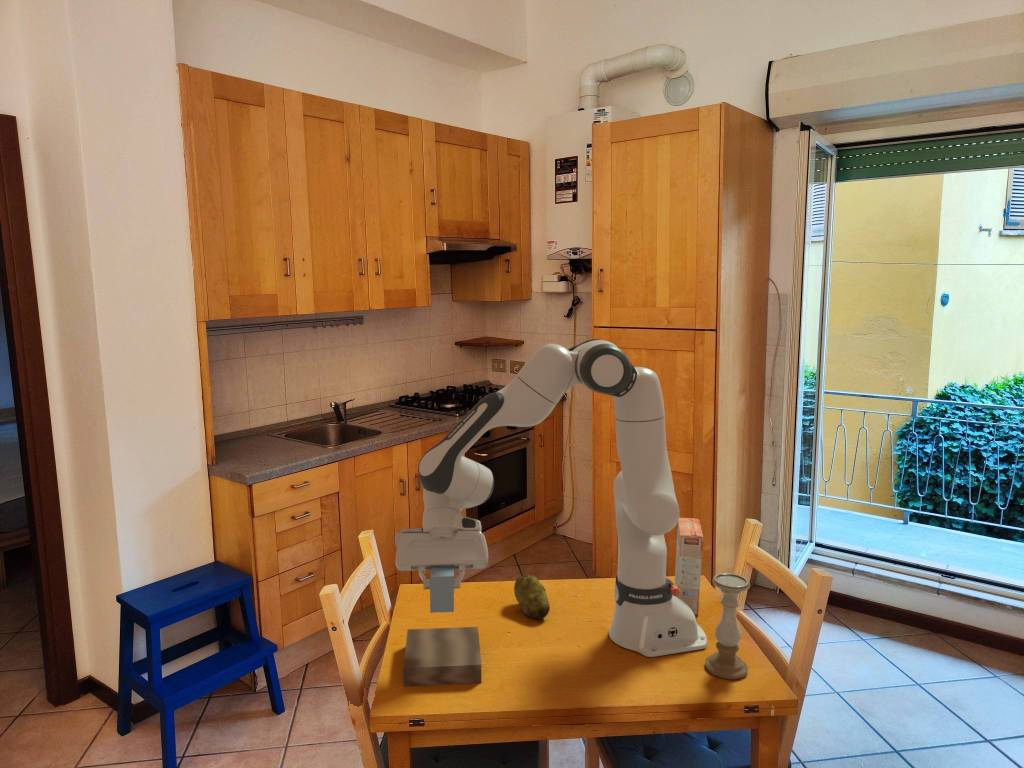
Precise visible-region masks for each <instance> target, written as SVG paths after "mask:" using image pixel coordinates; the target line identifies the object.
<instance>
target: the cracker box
mask: <svg viewBox="0 0 1024 768" xmlns="http://www.w3.org/2000/svg"><path fill="white" fill-rule="evenodd" d="M676 533H677V535H676V549H675V550H676V553H675V571H674V583H673V585H676V586H677V587H678V588H679V589H680V592H681V593H680V595H679V596H677V597H678V598H679V599H680V600H682V601H683V602H685V603H686V604H687V605H688V606H689V607H690V609H691V610H692V611H693V613H694V615H695V616H699V611H700V610H699V608H700V593H701V592H700V590H701V576H702V574H701V573H702V561H703V559H702V558H703V544H704V536H703V530H702V528H701V521H700V519H699V518H695V517H692V518H691V517H679V520H678V522H677V531H676Z"/></svg>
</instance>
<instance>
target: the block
mask: <svg viewBox="0 0 1024 768" xmlns="http://www.w3.org/2000/svg"><path fill="white" fill-rule="evenodd" d="M429 573H430V574H429V579H430V589H429V610H430V611H429V612H430V614H432V613H433V614H434V613H454V612H455V589H454V578H455V569H454V567H431V569H430V570H429Z"/></svg>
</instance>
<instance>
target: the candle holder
mask: <svg viewBox="0 0 1024 768" xmlns="http://www.w3.org/2000/svg"><path fill="white" fill-rule="evenodd" d="M711 580H712V584H713V586H715V587H716V588H718V589H720V591H721V593H722V594H723V598H722V599H720V604H721V605H722V611H721V613H722V614H721V618H720V620H719V622H718V623H717V625H716V627H715V631H714V634H715V635H714V636H715V638H716V641H717V642H716V644H715V648H716V649H717V651H716V652H714V653H712V654H711V655H709V656H707V657H706V659H705V662H704V664H705V668H706V670H707V671H708V672H709V673H710V674H712V675H714V676H715V675H716V676H715V677H717V676H718V678H720V677H721V678H722V679H724V678H725V679H724V680H740V679H742V677H743V678H745V677H746V675H747V674H748V665H747V663H746V662H745V660H742V658H741V657H740V656H738V655H737V653H738V652H739V650H740V648H739V647H740V646H739V645H738V644H739V643H740V641H741V640H742V631H741V629H740V626H739V624H738V621H737V607H739V606H740V602H739V601H738V599H737V598H738V596H739V595H740V594H741V593H742V592H745V591H748V590H749V589H750V587H751V583H750V581H749V579H748V578H747V577H745V576H743V575H741V574H736V573H733V572H732V573H729V572H720V573H716V574H714V575H713V578H712V579H711ZM721 678H720V679H721ZM739 678H740V679H739Z"/></svg>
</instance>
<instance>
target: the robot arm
mask: <svg viewBox="0 0 1024 768" xmlns="http://www.w3.org/2000/svg"><path fill="white" fill-rule="evenodd" d="M634 366H635V365H633V363H632V362H631V360H630V359H629V357H628V356H627V354H626V353H625V352H624V351H623V350H622V349H621V348H619V347H618V346H617V345H616V344H614V343H613V342H611V341H608V340H604V339H600V338H599V339H597V338H595V339H594V338H593V339H588V340H585V341H583V342H580V343H579V344H577V345H575V346H573V347H570V348H568V349H567V348H566V347H564V346H562V345H561V344H558V343H557V344H556V343H546V344H544V345H543V346H541V347H540V348H539V349H538V350H537V351H536V352H535V353H534V354H533V355H532V356H530V358H529V359H528V360H527V361H526V362H525V364H524V365H523V366H522V367H521V368H520V369H519V371H518V373H516V375H515V377H514V378H513V379H512V380H511V381H510V382H508V384H506V386H504V387H503V388H501V389H500V390H498V391H495V392H491V393H488V394H487V395H485V396H484V397H482V399H480V400H479V401H478V402H477V403H476V404H475V405H474V406H473V407H472V408H471V409H470V410H469V411H468V412H467V413H466V414H465V415H464V416H463V417H462V418H461V419H460V421H459V422H457V423H456V425H454V427H453V428H452V429H451V430H450V431H449V432H448V433H447V434H446V435H445V436H444V437H443V438H442V439H441V440H440V441H439V442H438V443H436V444H435V445H434V446H432V447H431V448H430V449H429V450H427V451H426V452H425V453H424V454H423V456H422V457H421V458H420V460H419V462H418V466H417V473H418V479H419V482H420V484H421V487H422V488H423V489H422V490H423V495H422V496H423V497H422V500H423V503H424V509H423V512H422V513H423V514H422V527H421V528H402V530H399V531H398V532H397V533H396V534H395V536H394V544H395V547H396V552H395V558H394V559H395V567H396V569H397V570H398V571H400V572H405V571H408V572H409V571H418V576H419V577H420V579H421V581H422V582H423V587H422V589H423V591H424V590H426V591H427V590H430V578H427V577H426V571H430V569H431V567H454V570H458V574H459V575H458V577H454V590H455V589H459V590H460V589H461V588H462V587H461V586H462V585H461V583H462V582H461V581H462V580H463V579H464V576H465V574H466V570H476V569H478V570H480V569H481V570H484V569H486V567H487V566H488V565H489V549H488V545H487V540H486V536H485V534H484V533H482V524H481V523H482V522H481V521H480V520H478V519H476V518H472V517H468V516H464V515H462V511H463V510H464V509H471V508H475V507H478V506H480V505H483V504H484V503H486V501H488V500H489V499H490V497H492V496H491V495H492V493H493V491H494V487H495V479H494V475H493V472H492V470H491V469H490V468H489V467H487V466H485V465H484V464H481V463H479V462H477V461H475V460H473V459H470V458H468V457H466V456H464V455H465V454H466V453H467V452H468V450H469V449H470V448H472V446H473V445H475V444H476V442H477V441H478V440H479V439H480V438H481V437H482V436H483V435H484V434H485V433H486V432H488V431H489V430H492V429H493V428H497V427H498V428H499V427H504V426H505V427H520V428H528V427H532V426H536V425H538V424H539V425H540V424H541V423H542V422H544V420H545V419H547V418H548V417H549V415H550V414H551V413H552V412H553V410H554V409H555V408H556V406H557V404H558V403H559V402H560V400H561V399H562V397H563V396H564V395H565V393H567V391H569V389H570V388H572V387H574V386H576V385H583V386H584V387H586V388H588V389H589V390H591V391H593V392H595V393H598V394H601V395H607V396H611V397H612V399H613V404H614V422H615V424H614V425H615V438H616V439H615V440H616V442H615V443H616V452H617V456H618V459H619V464H620V469H621V471H619V472H618V473H617V475H616V476H615V478H614V479H613V486H612V487H613V488H612V489H613V497H614V510H615V511H614V512H615V525H616V526H615V527H616V531H617V532H616V534H617V546H618V548H617V549H618V551H617V553H618V554H617V574H616V576H615V584H614V601H615V605H614V612H613V617H612V620H611V624H610V627H609V629H608V636H609V638H610V639H611V641H613V642H614V643H615V645H617V646H620V647H623V648H625V649H627V650H631V651H634V652H638V653H639V654H641V655H643V656H645V657H648V658H656V657H661V656H668V655H672V654H679V653H685V652H692V651H698V650H703V649H706V648H707V647H708V638H707V635H706V632H705V631H704V629H703V628H702V627H701V626H700V625H699V624H698V623H697V620H696V619H697V618H696V615H694V613H693V611H692V610H691V609H690V607H689V606H688V605H687V604H686V603H685V602H683V601H682V600H680V599H679V598H678V597H677V596H679V595H680V593H681V592H680V589H679V588H678V587H677V586H676V585H674V582H673V581H672V580H671V579H669V578H668V577H667V560H668V558H667V557H668V548H667V543H666V539H665V534H667V533H669V532H671V531H672V530H673V529H674V528H676V526H677V525H678V520H679V518H680V515H681V514H680V513H681V510H680V507H679V503H678V499H677V496H676V491H675V485H674V484H675V483H674V478H673V474H672V469H671V468H672V467H671V465H670V460H669V456H668V455H669V453H668V447H667V431H666V430H667V429H666V414H665V413H666V412H665V401H664V396H663V391H662V386H661V382H660V380H659V376H658V375H657V373H656V372H655V371H654V370H652V369H650V368H647V367H643V366H635V367H634Z"/></svg>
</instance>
